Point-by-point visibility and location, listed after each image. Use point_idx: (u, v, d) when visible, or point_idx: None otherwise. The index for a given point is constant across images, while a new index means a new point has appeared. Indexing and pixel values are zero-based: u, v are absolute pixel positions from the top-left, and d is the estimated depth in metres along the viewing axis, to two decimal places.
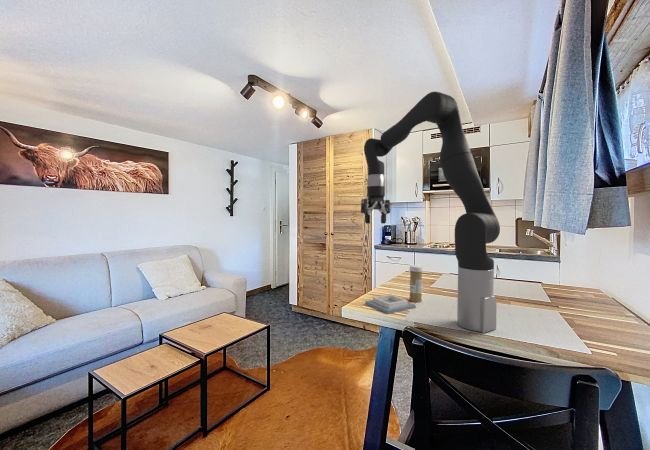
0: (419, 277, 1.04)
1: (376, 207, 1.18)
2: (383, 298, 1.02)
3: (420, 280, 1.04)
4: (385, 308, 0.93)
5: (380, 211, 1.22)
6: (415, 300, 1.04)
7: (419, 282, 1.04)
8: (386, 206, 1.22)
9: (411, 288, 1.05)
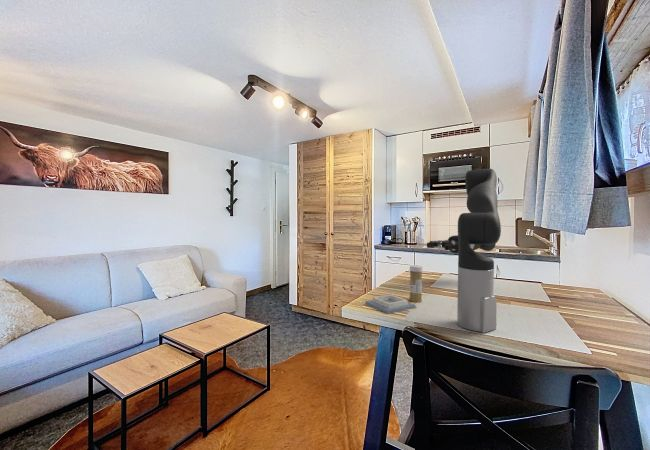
0: (419, 277, 1.04)
1: (445, 242, 1.15)
2: (383, 298, 1.02)
3: (420, 280, 1.04)
4: (385, 308, 0.93)
5: None
6: (415, 300, 1.04)
7: (419, 282, 1.04)
8: None
9: (411, 288, 1.05)
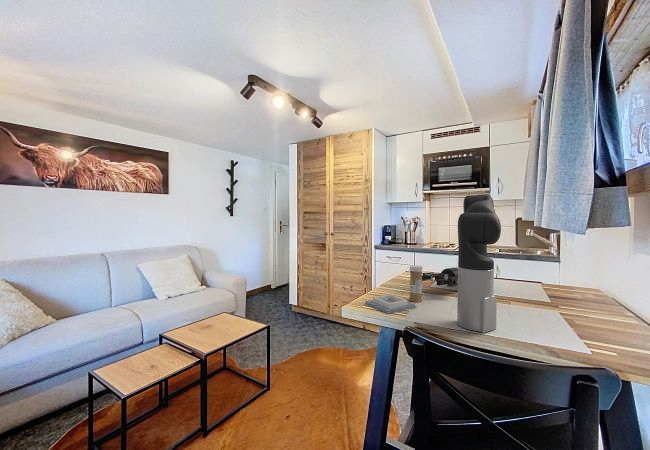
0: (419, 277, 1.04)
1: (438, 275, 1.13)
2: (383, 298, 1.02)
3: (420, 280, 1.04)
4: (385, 308, 0.93)
5: None
6: (415, 300, 1.04)
7: (419, 282, 1.04)
8: None
9: (411, 288, 1.05)
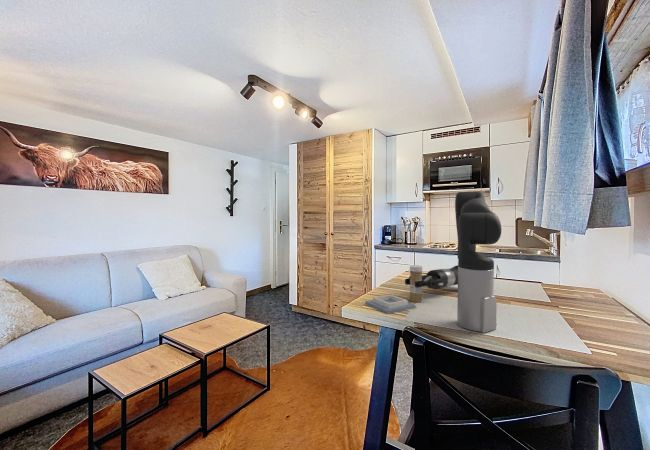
0: (419, 277, 1.04)
1: (425, 278, 1.08)
2: (383, 298, 1.02)
3: (420, 280, 1.04)
4: (385, 308, 0.93)
5: None
6: (415, 300, 1.04)
7: None
8: None
9: (411, 288, 1.05)
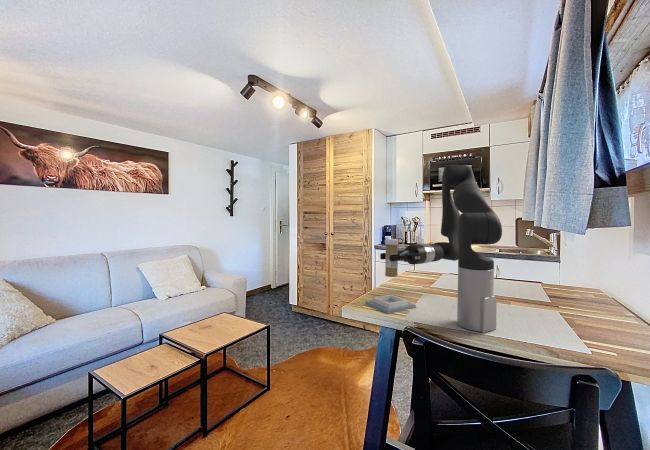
0: (394, 250, 0.97)
1: None
2: (383, 298, 1.02)
3: None
4: (385, 308, 0.93)
5: None
6: (390, 275, 0.98)
7: None
8: None
9: (386, 262, 0.98)
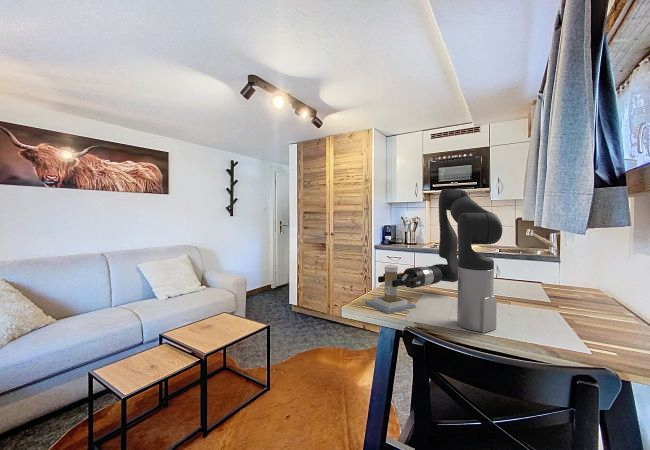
0: (394, 278, 0.97)
1: (400, 276, 1.02)
2: (383, 298, 1.02)
3: None
4: (385, 308, 0.93)
5: None
6: (389, 302, 0.98)
7: None
8: None
9: (385, 289, 0.98)
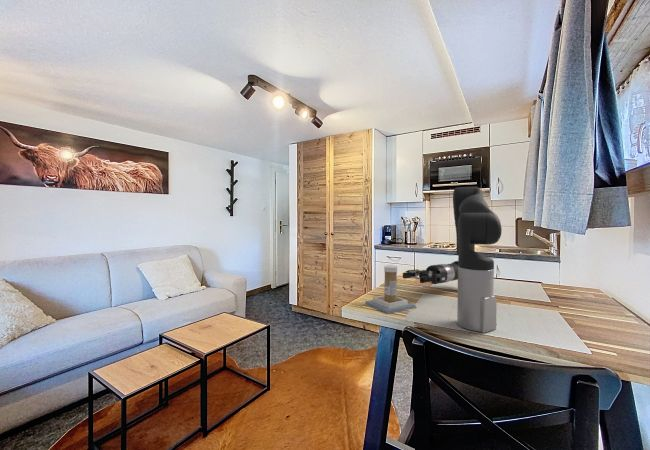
0: (393, 278, 0.97)
1: (423, 273, 1.08)
2: (383, 298, 1.02)
3: (395, 281, 0.98)
4: (385, 308, 0.93)
5: None
6: (389, 302, 0.98)
7: (393, 283, 0.97)
8: None
9: (385, 290, 0.98)
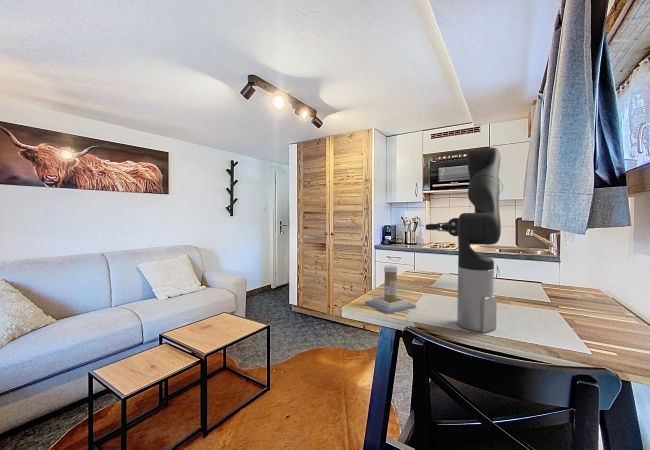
0: (393, 278, 0.97)
1: (445, 224, 1.11)
2: (383, 298, 1.02)
3: (395, 281, 0.98)
4: (385, 308, 0.93)
5: None
6: (389, 302, 0.98)
7: (393, 283, 0.97)
8: None
9: (385, 290, 0.98)
